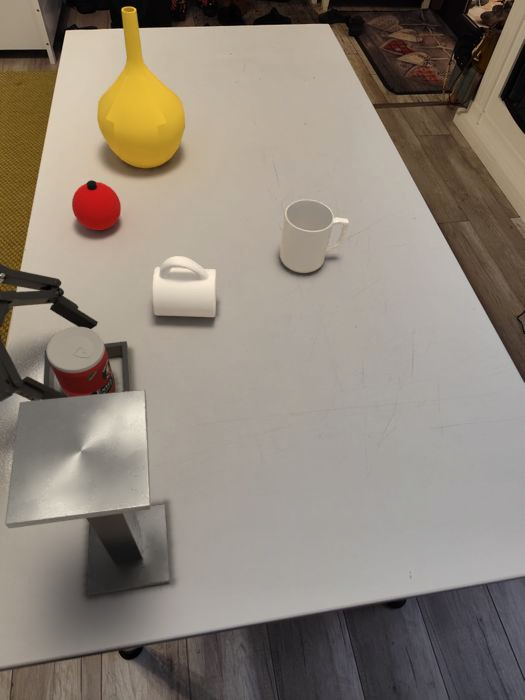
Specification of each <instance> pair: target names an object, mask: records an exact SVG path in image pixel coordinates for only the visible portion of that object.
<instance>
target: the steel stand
mask: <svg viewBox="0 0 525 700" xmlns="http://www.w3.org/2000/svg"><path fill="white" fill-rule="evenodd" d="M147 401H148V400H147V392H146V389H136V390H132V391H126V392H124V391H117V392H116V391H115V392H113V393H106V394H96V395H86V396H76V397H66V398H56V399H46V400H36V401H30V400H28V401H26V400H25V401H19V403H18V412H17V413H18V414H17V422H16V430H15V439H14V447H13V453H12V455H13V456H12V463H11V472H10V480H9V489H8V495H7V496H8V497H7V506H6V513H5V521H4V522H5V523H4V525H5V526H6V527H7V528H8V529H15V528H23V527H30V526H31V527H32V526H39V525H45V524H52V523H53V524H54V523H59V522H60V523H61V522H67V521H74V520H83V519H86V520H87V522H88V524H89V525H88V552H87V553H88V555H87V556H88V557H87V558H88V559H87V590H86V591H87V592H86V593H87V595H88V596H93V595H100V594H107V593H112V592H119V591H125V590H132V589H137V588H145V587H151V586H156V585H157V586H158V585H163V584H169V583H171V577H170V558H169V539H168V523H167V522H168V521H167V508H166V506H167V505H166V503H160V504H152V502H151V501H152V500H151V499H152V498H151V479H150V478H151V476H150V474H151V473H150V454H149V453H150V450H149V449H150V448H149V429H148V426H149V425H148V402H147Z"/></svg>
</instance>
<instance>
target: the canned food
mask: <svg viewBox="0 0 525 700" xmlns="http://www.w3.org/2000/svg"><path fill="white" fill-rule="evenodd" d="M104 344H105V343H104V340H103V339H102V337H101V335H100V333H98V332H96V331H95V330H94V329H93V328H92V329H89V328H85V327H78V326H72V327H68V328H64V329H62V330H60V331H58V332H57V333H55V334H54V335H53V336H52V337H51V338H50V340H49V341H48V342H47V345H46V350H47V357H48V360H49V362H50V365H51V367H52V369H53V371H54V377H55V378H56V380H57V382H58V384H59V387H60V389H61V391H62V394H64V395H66V396H67V397H76V396H86V395H96V394H106V393H115V389H116V381H115V376H114V372H113V370H112V366H111V363H110V358H108V355H107V352H106V348H105V345H104Z"/></svg>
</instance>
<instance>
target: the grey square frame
mask: <svg viewBox="0 0 525 700" xmlns="http://www.w3.org/2000/svg"><path fill="white" fill-rule="evenodd" d="M104 345H105V348H106V352H107V355H108V359H110V358H111V359H112V358H118V357H122V373H123V374H122V375H123V390H124V391H123V392H126V391H133V390H132V389H133V388H132V375H131V373H132V372H131V359H130V357H131V356H130V349H129V346H128V342H127V340H124V341H116V342H108V343H104ZM43 365H44V366H43V367H44V369H43V384H44V385H46V386H48V387H50V388H52V389H54V390H55V374H54V371H53V369H52V367H51V365H50V362H49V360H48V357H47V349H45V350H44V364H43Z"/></svg>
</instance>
